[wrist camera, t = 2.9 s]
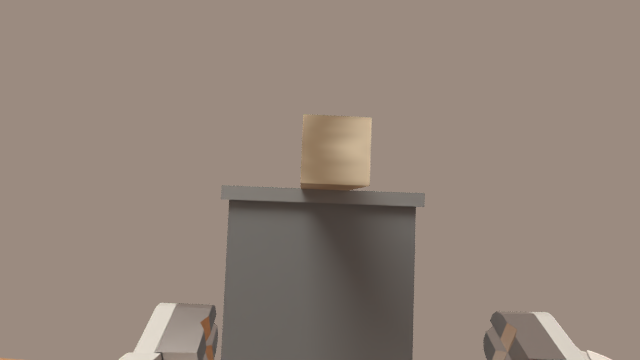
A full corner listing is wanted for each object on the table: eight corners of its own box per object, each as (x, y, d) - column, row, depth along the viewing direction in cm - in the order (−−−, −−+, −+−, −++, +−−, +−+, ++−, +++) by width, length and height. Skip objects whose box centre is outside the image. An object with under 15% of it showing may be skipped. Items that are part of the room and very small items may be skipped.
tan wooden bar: (300, 182, 18) (303, 114, 18) (301, 192, 41) (302, 162, 41) (369, 185, 18) (371, 117, 19) (331, 193, 41) (333, 163, 42)
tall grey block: (201, 563, 25) (221, 185, 26) (232, 453, 36) (245, 189, 37) (416, 561, 26) (424, 193, 27) (382, 453, 37) (389, 195, 38)
